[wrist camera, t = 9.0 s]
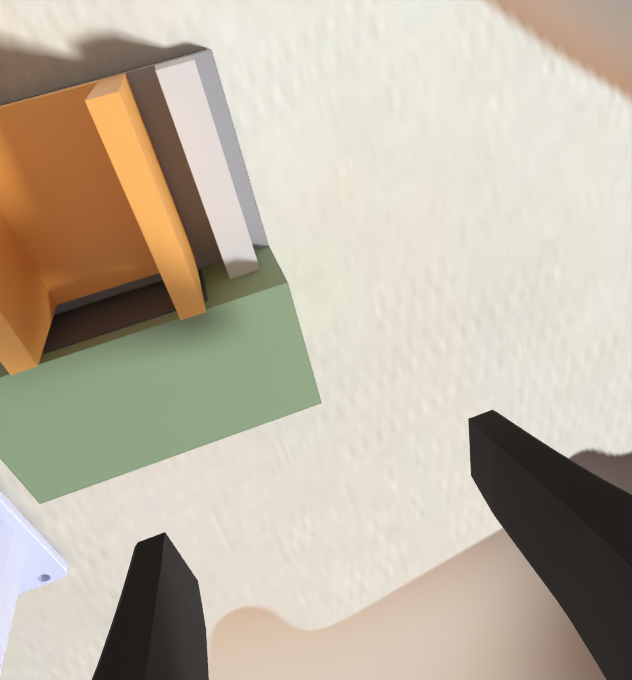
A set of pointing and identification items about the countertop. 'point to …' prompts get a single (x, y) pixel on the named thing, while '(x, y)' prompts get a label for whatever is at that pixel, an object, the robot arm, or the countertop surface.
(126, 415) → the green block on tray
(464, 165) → the countertop surface
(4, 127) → the chute
